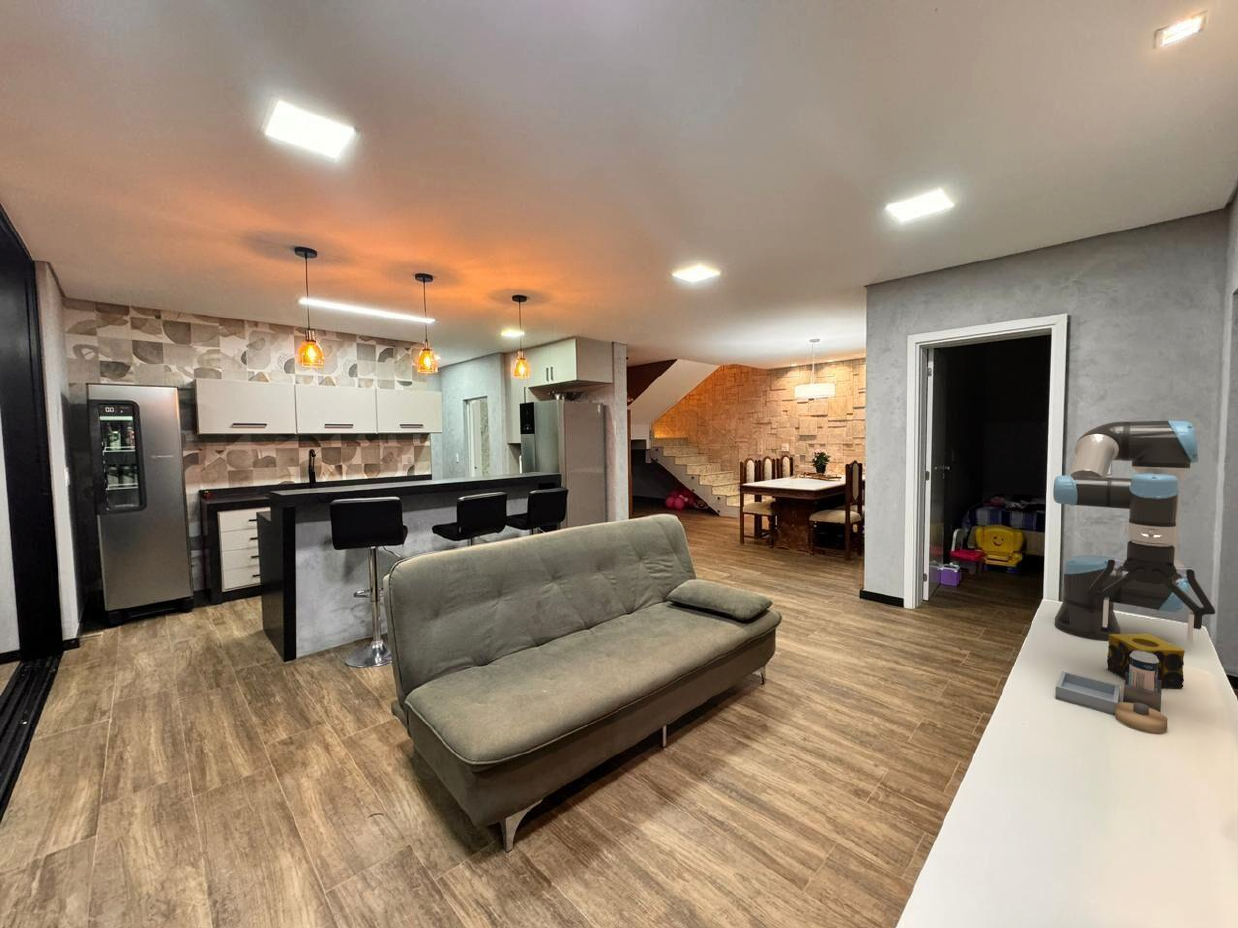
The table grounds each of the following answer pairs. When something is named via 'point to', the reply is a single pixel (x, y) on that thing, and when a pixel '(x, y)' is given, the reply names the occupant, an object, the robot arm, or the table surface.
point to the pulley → (1141, 717)
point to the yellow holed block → (1164, 651)
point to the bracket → (1142, 695)
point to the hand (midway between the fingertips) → (1145, 633)
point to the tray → (1088, 692)
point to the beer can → (1143, 670)
